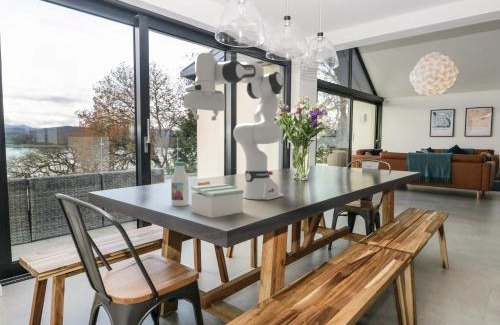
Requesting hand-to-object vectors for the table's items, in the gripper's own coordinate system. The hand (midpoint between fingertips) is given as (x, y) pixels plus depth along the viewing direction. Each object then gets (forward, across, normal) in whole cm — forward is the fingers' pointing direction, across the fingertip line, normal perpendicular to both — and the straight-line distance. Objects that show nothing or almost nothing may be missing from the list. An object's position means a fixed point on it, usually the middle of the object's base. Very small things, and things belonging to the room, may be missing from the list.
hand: (205, 119), depth 148 cm
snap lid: (+31, +4, +22) cm, 38 cm away
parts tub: (+39, +4, +14) cm, 42 cm away
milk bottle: (+39, +8, -9) cm, 41 cm away
